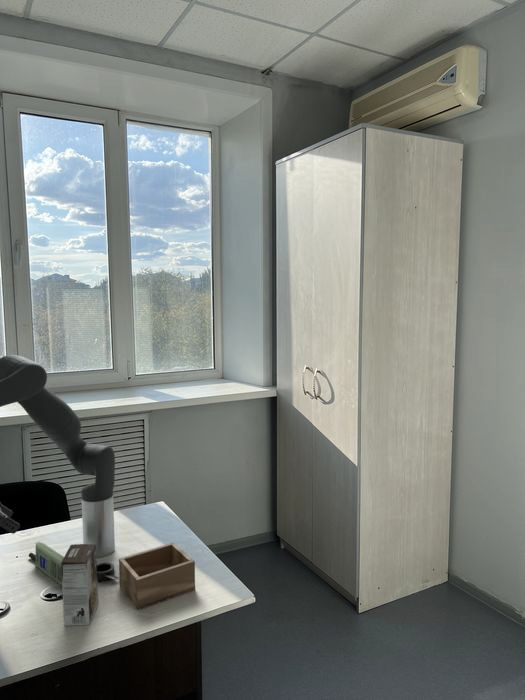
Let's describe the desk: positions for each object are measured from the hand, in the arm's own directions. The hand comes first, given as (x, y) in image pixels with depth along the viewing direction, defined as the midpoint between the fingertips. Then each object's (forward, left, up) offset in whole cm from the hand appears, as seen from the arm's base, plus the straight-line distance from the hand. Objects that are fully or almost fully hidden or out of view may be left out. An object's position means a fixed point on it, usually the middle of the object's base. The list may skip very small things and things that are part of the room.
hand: (13, 522), depth 119 cm
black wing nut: (-14, +24, -28) cm, 39 cm away
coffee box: (0, +14, -27) cm, 31 cm away
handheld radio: (-25, +13, -28) cm, 40 cm away
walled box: (0, +34, -27) cm, 44 cm away
